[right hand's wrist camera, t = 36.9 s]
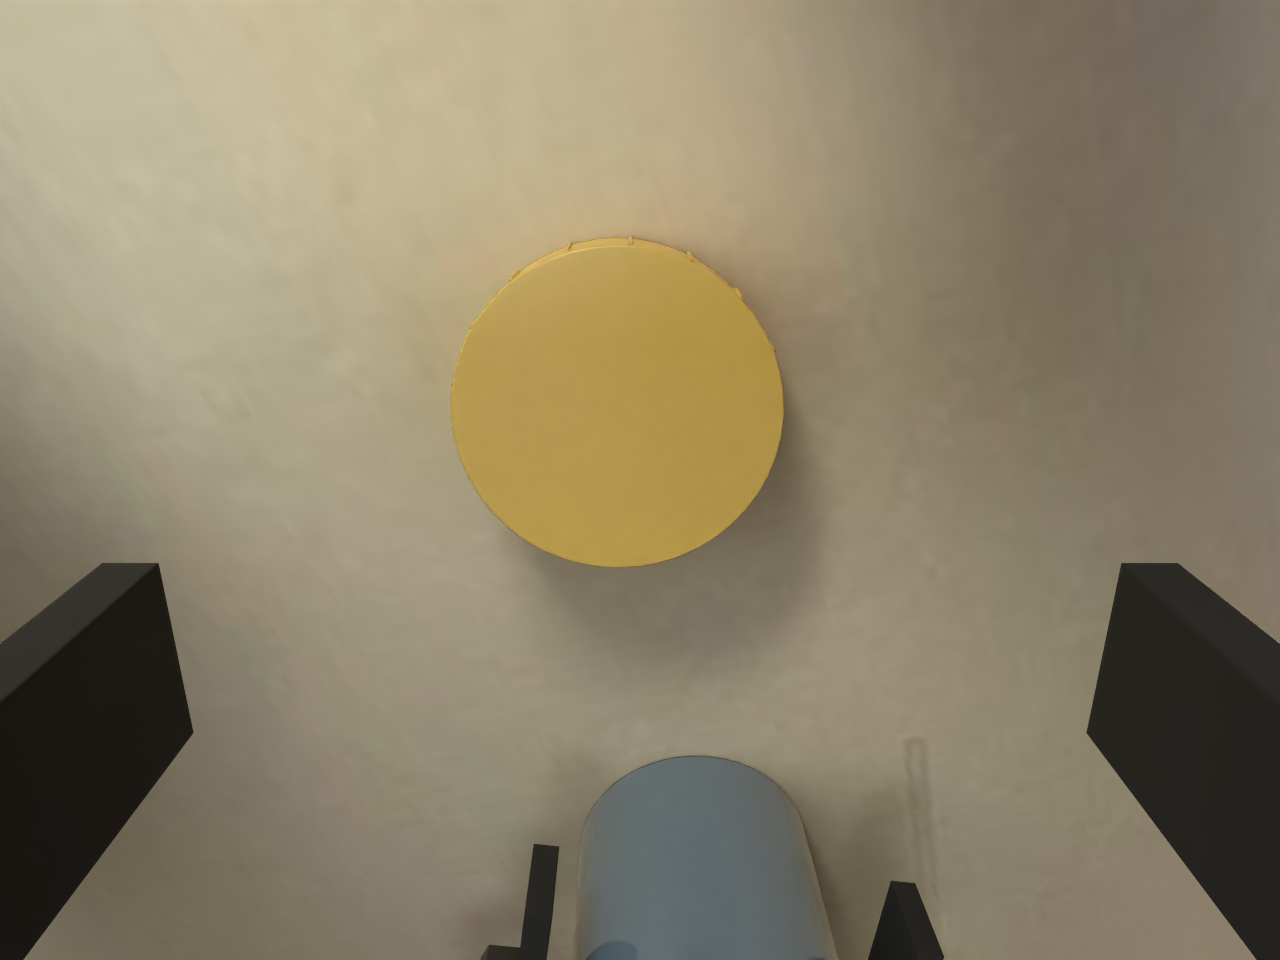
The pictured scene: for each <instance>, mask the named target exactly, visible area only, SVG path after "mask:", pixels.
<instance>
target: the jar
mask: <svg viewBox="0 0 1280 960" xmlns="http://www.w3.org/2000/svg"><path fill="white" fill-rule="evenodd" d="M572 960H839V959H838V955H837V952H836V948H835V944H834V940H833V936H832V933H831V929H830V925H829V921H828V917H827V914H826V910H825V906H824V902H823V898H822V895H821V891H820V887H819V883H818V879H817V875H816V872H815V868H814V864H813V860H812V856H811V853H810V849H809V845H808V841H807V837H806V834H805V830H804V826H803V823H802V820H801V818H800V815H799V813H798V811H797V809H796V807H795V806H794V804H793V802H792V801H791V800H790V798H789V797H788V796H787V795H786V793H785V792H784V791H783V790H782V789H781V788H780V787H779V786H778V785H777V784H776V783H774V782H773V781H771V780H770V779H769V778H767V777H766V776H765V775H763V774H761V773H759V772H758V771H756V770H754V769H752V768H750V767H747V766H745V765H742V764H740V763H737V762H733V761H729V760H725V759H720V758H713V757H697V756H692V757H679V758H673V759H668V760H663V761H659V762H656V763H653V764H650V765H647V766H645V767H642V768H640V769H638V770H635V771H634V772H632V773H630V774H629V775H627V776H625V777H623V778H622V779H621V780H619V781H618V782H617V783H615V784H614V785H613V786H611V787H610V788H609V789H608V790H607V791H606V792H605V793H604V794H603V795H602V796H601V798H600V799H599V800H598V802H597V803H596V804H595V806H594V807H593V809H592V810H591V812H590V814H589V816H588V817H587V820H586V822H585V825H584V828H583V831H582V836H581V841H580V853H579V868H578V883H577V897H576V912H575V927H574V942H573V956H572Z"/></svg>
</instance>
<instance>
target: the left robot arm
mask: <svg viewBox="0 0 1280 960" xmlns="http://www.w3.org/2000/svg"><path fill="white" fill-rule="evenodd" d="M558 852H559V847H558V846H548V845H539V844H534V848H533V855H532V862H531V870H530V877H529V885H528V892H527V900H526V907H525V915H524V922H523V930H522V938H521V946H520V948H518V947H507V946H497V945H489V946H488V947H487V949H486V950H485V952H484V953H483V955H482V956H481V960H546V958H547V951H548V944H549V937H550V929H551V922H552V914H553V904H554V893H555V883H556V873H557V863H558ZM943 958H944V955H943V953H942V950H941V948H940V945H939V943H938V940H937V938H936V935H935V933H934V930H933V928H932V925H931V923H930V920H929V917H928V915H927V912H926V910H925V907H924V905H923V902H922V900H921V897H920V895H919V892H918V890H917V887H916V885H915V883H907V882H897V881H891V883H890V886H889V890H888V893H887V897H886V900H885V903H884V907H883V910H882V914H881V917H880V920H879V924H878V927H877V931H876V934H875V937H874V941H873V944H872V948H871V951H870V954H869V958H868V960H943Z"/></svg>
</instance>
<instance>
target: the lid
mask: <svg viewBox="0 0 1280 960" xmlns="http://www.w3.org/2000/svg"><path fill="white" fill-rule="evenodd" d="M744 299H745V298H744V297H743V295H742V294H741V293H740V292H739V291H738V289H737V288H736V287H735V288H734V289H733V288H732V287H731V286H730V285H729V284H728V283H727V282H726V281H725V280H724V279H723V278H721V277H720V276H719V275H718V274H717V273H716V272H715V271H713V270H712V269H710V268H709V267H707V266H706V265H705V264H703V263H702V262H700V261H699V260H697V259H695V258H693V256H692V254H691V253H690V252H688V251H687V253H686V254H685V253H683V252H681V251H679V250H677V249H674V248H671V247H668V246H665V245H662V244H659V243H655V242H650V241H644V240H639V239H632V236H628V239H627V238H608V239H595V240H590V241H586V242H581V243H576V244H573V245H572V242H570V243H568V244H567V246H566V247H564V248H562V249H559V250H556V251H554V252H552V253H550V254H548V255H546V256H544V257H542V258H540V259H538V260H536V261H535V262H533V263H532V264H531V265H529V266H528V267H526V268H525V269H524V270H522V271H521V272H519V270H517V271H516V272H515V273H514V274H513V275H512V276H511V277H510V278H509V283H508V284H506V285H505V286H504V287H503V288H502V290H501V291H500V292H499V293H498V294H497V295H496V296H495V297H494V298H493V299H492V301H491V302H490V303H489V304H488V306H487V307H486V308H485V309H484V311H483V312H482V313H481V314H480V315H479V317H478V318H477V319H476V320H475V321H474V322H473V323H472V324H471V326H470V327H469V329H471V330H470V332H469V334H468V336H467V338H466V340H465V343H464V345H463V347H462V350H461V352H460V354H459V358H458V362H457V365H456V369H455V373H454V377H453V383H452V393H451V420H452V427H453V433H454V440H455V443H456V447H457V450H458V453H459V457H460V460H461V462H462V464H463V467H464V469H465V471H466V474H467V476H468V478H469V480H470V481H471V483H472V485H473V486H474V488H475V490H476V491H477V493H478V495H479V496H480V498H481V499H482V500H483V501H484V503H485V504H486V505H487V506H488V508H489V509H490V510H491V511H492V513H493V514H495V515H496V516H497V517H498V518H499V519H500V520H501V521H502V522H503V523H504V524H505V525H506V526H507V527H508V528H509V529H511V530H512V531H513V532H515V533H516V534H517V535H519V536H520V537H521V538H523V539H524V540H526V541H528V542H529V543H531V544H533V545H534V546H536V547H538V548H540V549H541V550H544V551H546V552H548V553H551V554H553V555H555V556H558V557H560V558H563V559H567V560H570V561H573V562H577V563H581V564H587V565H593V566H599V567H617V568H622V567H637V566H644V565H649V564H655V563H660V562H663V561H666V560H670V559H673V558H676V557H679V556H681V555H684V554H686V553H688V552H690V551H692V550H694V549H697V548H699V547H700V546H702V545H704V544H705V543H707V542H709V541H710V540H712V539H713V538H715V537H716V536H718V535H719V534H720V533H721V532H723V531H724V530H725V529H726V528H728V527H729V526H730V525H731V524H733V523H734V521H735V520H736V519H737V518H738V517H739V516H740V515H741V514H742V513H743V512H744V511H745V510H746V509H747V508H748V506H749V505H750V504H751V502H752V501H753V500H754V498H755V497H756V496H757V494H758V493H759V491H760V489H761V488H762V486H763V484H764V482H765V481H766V479H767V477H768V475H769V473H770V470H771V468H772V465H773V463H774V461H775V458H776V455H777V451H778V448H779V444H780V440H781V436H782V428H783V419H784V393H783V387H782V380H781V374H780V370H779V367H778V363H777V360H776V357H775V353H774V352H776V351H775V348H774V347H773V346H772V344H771V343H770V342H769V340H768V338H767V335H766V333H765V331H764V330H763V328H762V327H761V325H760V323H759V322H758V320H757V319H756V317H755V316H754V314H753V313H752V311H751V310H750V309H749V308H748V306H747V305H746V304H745V303H744V301H743V300H744Z"/></svg>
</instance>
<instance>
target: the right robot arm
mask: <svg viewBox="0 0 1280 960" xmlns="http://www.w3.org/2000/svg"><path fill="white" fill-rule="evenodd" d="M192 734H193V728H192V724H191V719H190V714H189V709H188V704H187V699H186V694H185V690H184V685H183V680H182V675H181V670H180V665H179V660H178V656H177V651H176V646H175V641H174V636H173V631H172V626H171V622H170V617H169V612H168V607H167V602H166V597H165V593H164V588H163V583H162V578H161V573H160V568H159V563H102V564H101V565H99V566H98V567H97V568H96V569H94V570H93V571H92V572H91V573H89V574H88V575H87V576H86V577H84V578H83V579H82V580H80V581H79V582H78V583H77V584H75V585H74V586H73V587H72V588H70V589H69V590H68V591H67V592H65V593H64V594H63V595H62V596H60V597H59V598H58V599H56V600H55V601H54V602H53V603H51V604H50V605H49V606H48V607H46V608H45V609H44V610H43V611H41V612H40V613H39V614H38V615H36V616H35V617H34V618H33V619H31V620H30V621H29V622H27V623H26V624H25V625H24V626H22V627H21V628H20V629H19V630H17V631H16V632H15V633H14V634H12V635H11V636H10V637H9V638H7V639H6V640H5V641H3V642H2V643H1V644H0V960H23V959H24V958H25V957H26V955H27V954H28V953H29V951H30V950H31V949H32V947H33V946H34V945H35V943H36V942H37V941H38V939H39V938H40V937H41V935H42V934H43V933H44V931H45V930H46V929H47V927H48V926H49V925H50V923H51V922H52V921H53V919H54V918H55V917H56V915H57V914H58V913H59V911H60V910H61V909H62V907H63V906H64V905H65V903H66V902H67V901H68V899H69V898H70V897H71V895H72V894H73V893H74V891H75V890H76V889H77V887H78V886H79V885H80V883H81V882H82V881H83V879H84V878H85V877H86V875H87V874H88V873H89V871H90V870H91V869H92V867H93V866H94V865H95V863H96V862H97V861H98V859H99V858H100V857H101V855H102V854H103V853H104V851H105V850H106V849H107V847H108V846H109V845H110V843H111V842H112V841H113V839H114V838H115V837H116V835H117V834H118V833H119V831H120V830H121V829H122V827H123V826H124V825H125V823H126V822H127V821H128V819H129V818H130V817H131V815H132V814H133V813H134V811H135V810H136V809H137V807H138V806H139V805H140V803H141V802H142V801H143V799H144V798H145V797H146V795H147V794H148V793H149V791H150V790H151V789H152V787H153V786H154V785H155V783H156V782H157V781H158V779H159V778H160V777H161V775H162V774H163V773H164V771H165V770H166V769H167V767H168V766H169V765H170V763H171V762H172V761H173V759H174V758H175V757H176V755H177V754H178V753H179V751H180V750H181V749H182V747H183V746H184V745H185V743H186V742H187V741H188V739H189V738H190V737H191V735H192ZM1087 734H1088V735H1089V737H1090V738H1091V739H1092V741H1093V742H1094V743H1095V745H1096V746H1097V747H1098V749H1099V750H1100V751H1101V753H1102V754H1103V755H1104V757H1105V758H1106V759H1107V761H1108V762H1109V763H1110V765H1111V766H1112V767H1113V769H1114V770H1115V771H1116V773H1117V774H1118V775H1119V777H1120V778H1121V779H1122V781H1123V782H1124V783H1125V785H1126V786H1127V787H1128V789H1129V790H1130V791H1131V793H1132V794H1133V795H1134V797H1135V798H1136V799H1137V801H1138V802H1139V803H1140V805H1141V806H1142V807H1143V809H1144V810H1145V811H1146V813H1147V814H1148V815H1149V817H1150V818H1151V819H1152V821H1153V822H1154V823H1155V825H1156V826H1157V827H1158V829H1159V830H1160V831H1161V833H1162V834H1163V835H1164V837H1165V838H1166V839H1167V841H1168V842H1169V843H1170V845H1171V846H1172V847H1173V849H1174V850H1175V851H1176V853H1177V854H1178V855H1179V857H1180V858H1181V859H1182V861H1183V862H1184V863H1185V865H1186V866H1187V867H1188V869H1189V870H1190V871H1191V873H1192V874H1193V875H1194V877H1195V878H1196V879H1197V881H1198V882H1199V883H1200V885H1201V886H1202V887H1203V889H1204V890H1205V891H1206V893H1207V894H1208V895H1209V897H1210V898H1211V899H1212V901H1213V902H1214V903H1215V905H1216V906H1217V907H1218V909H1219V910H1220V911H1221V913H1222V914H1223V915H1224V917H1225V918H1226V919H1227V921H1228V922H1229V923H1230V925H1231V926H1232V927H1233V929H1234V930H1235V931H1236V933H1237V934H1238V935H1239V937H1240V938H1241V939H1242V941H1243V942H1244V943H1245V945H1246V946H1247V947H1248V949H1249V950H1250V951H1251V953H1252V954H1253V955H1254V957H1255V958H1256V959H1257V960H1280V644H1279V643H1278V642H1277V641H1275V640H1274V639H1273V638H1271V637H1270V636H1269V635H1268V634H1266V633H1265V632H1264V631H1263V630H1261V629H1260V628H1259V627H1258V626H1256V625H1255V624H1254V623H1253V622H1251V621H1250V620H1249V619H1247V618H1246V617H1245V616H1244V615H1242V614H1241V613H1240V612H1239V611H1237V610H1236V609H1235V608H1234V607H1232V606H1231V605H1230V604H1229V603H1227V602H1226V601H1225V600H1224V599H1222V598H1221V597H1220V596H1218V595H1217V594H1216V593H1215V592H1213V591H1212V590H1211V589H1210V588H1208V587H1207V586H1206V585H1205V584H1203V583H1202V582H1201V581H1200V580H1198V579H1197V578H1196V577H1194V576H1193V575H1192V574H1191V573H1189V572H1188V571H1187V570H1186V569H1184V568H1183V567H1182V566H1181V565H1179V564H1178V563H1121V568H1120V573H1119V578H1118V583H1117V588H1116V593H1115V597H1114V602H1113V607H1112V612H1111V617H1110V622H1109V627H1108V631H1107V636H1106V641H1105V646H1104V651H1103V656H1102V660H1101V665H1100V670H1099V675H1098V680H1097V685H1096V690H1095V694H1094V699H1093V704H1092V709H1091V714H1090V719H1089V724H1088V728H1087Z"/></svg>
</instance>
